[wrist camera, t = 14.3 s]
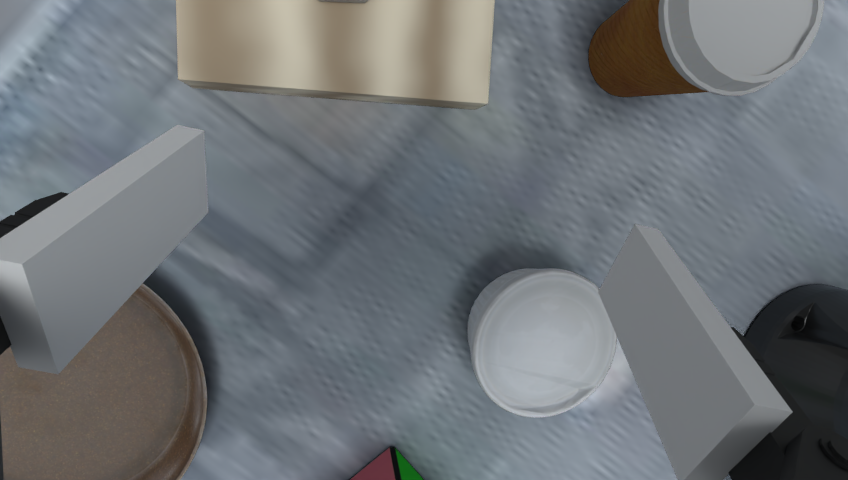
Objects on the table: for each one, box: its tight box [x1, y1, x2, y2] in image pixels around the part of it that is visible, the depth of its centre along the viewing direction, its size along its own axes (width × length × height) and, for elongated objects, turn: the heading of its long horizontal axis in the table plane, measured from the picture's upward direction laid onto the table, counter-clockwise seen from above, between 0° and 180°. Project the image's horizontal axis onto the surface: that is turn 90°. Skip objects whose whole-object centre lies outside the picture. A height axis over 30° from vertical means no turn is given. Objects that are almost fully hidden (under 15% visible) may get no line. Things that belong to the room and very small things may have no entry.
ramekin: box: [467, 268, 617, 418], centre depth 36 cm, size 11×11×5 cm
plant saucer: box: [0, 283, 207, 480], centre depth 31 cm, size 21×21×3 cm
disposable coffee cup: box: [589, 0, 824, 97], centre depth 31 cm, size 10×10×12 cm
